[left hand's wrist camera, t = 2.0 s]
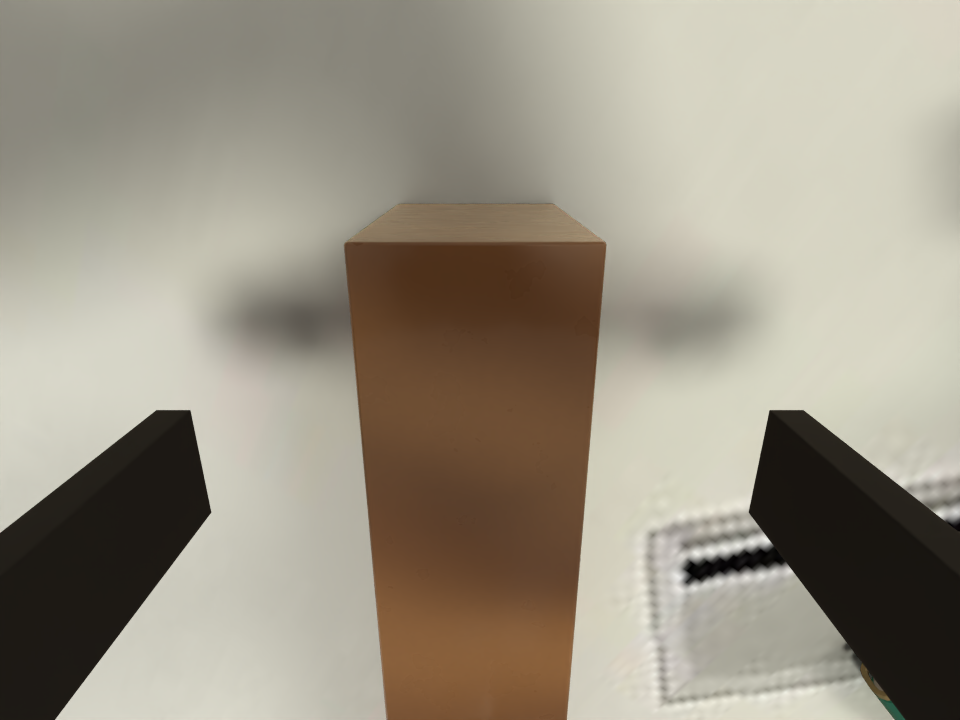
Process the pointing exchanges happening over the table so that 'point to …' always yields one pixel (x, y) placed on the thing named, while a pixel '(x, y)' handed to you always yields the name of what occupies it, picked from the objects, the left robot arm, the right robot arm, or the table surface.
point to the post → (475, 449)
